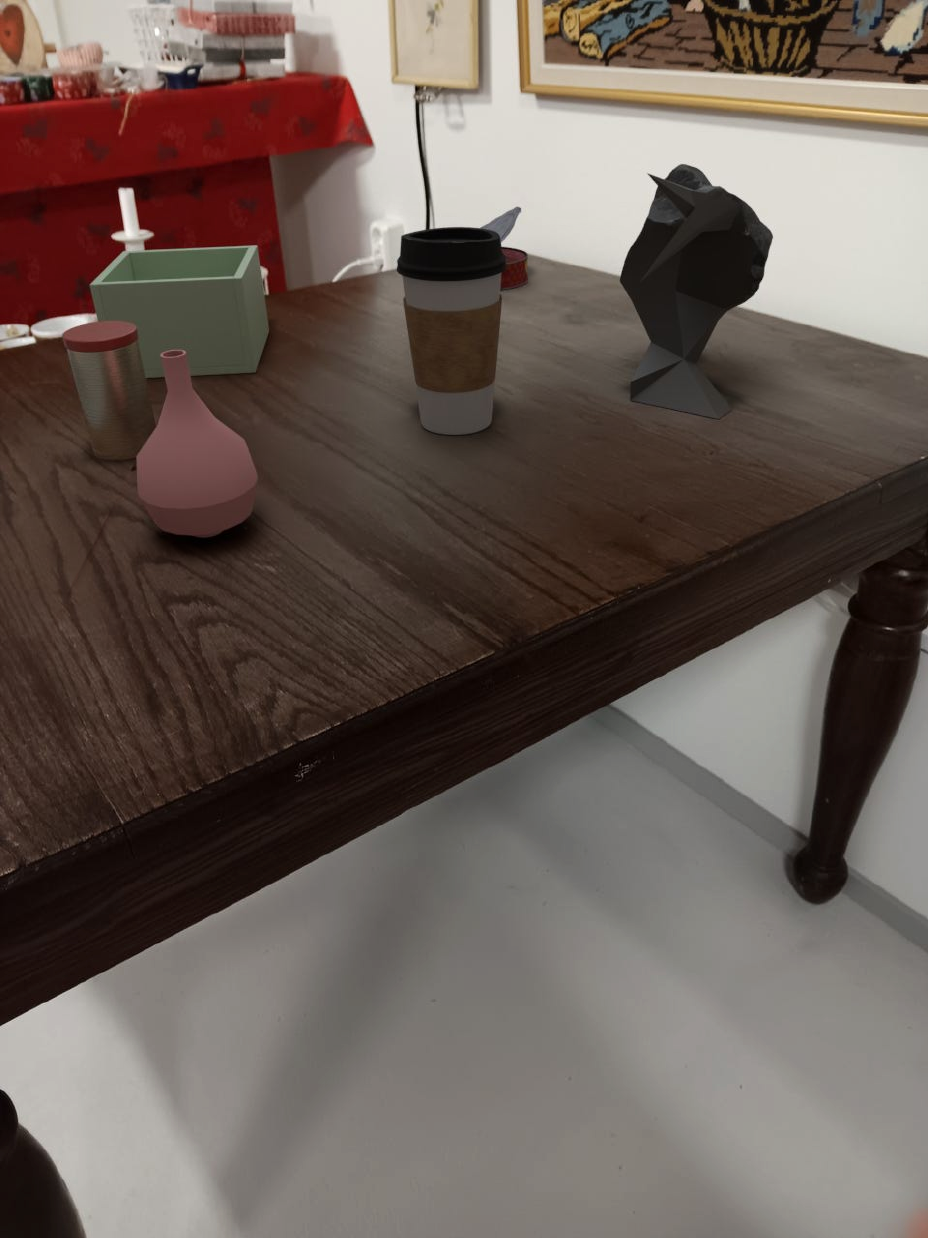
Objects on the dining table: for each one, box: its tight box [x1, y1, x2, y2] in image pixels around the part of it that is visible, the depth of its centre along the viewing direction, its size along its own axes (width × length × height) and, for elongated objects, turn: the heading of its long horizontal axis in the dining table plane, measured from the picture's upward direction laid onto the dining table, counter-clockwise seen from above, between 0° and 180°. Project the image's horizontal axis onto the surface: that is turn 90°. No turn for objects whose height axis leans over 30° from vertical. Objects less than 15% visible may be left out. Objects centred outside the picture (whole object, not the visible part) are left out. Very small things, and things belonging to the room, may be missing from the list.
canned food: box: [480, 206, 529, 291], centre depth 117 cm, size 11×10×10 cm
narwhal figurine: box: [619, 163, 774, 420], centre depth 82 cm, size 14×15×18 cm
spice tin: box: [61, 321, 157, 471], centre depth 72 cm, size 5×5×10 cm
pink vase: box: [135, 350, 259, 538], centre depth 61 cm, size 8×8×12 cm
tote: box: [89, 244, 270, 379], centre depth 94 cm, size 14×14×9 cm
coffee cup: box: [396, 226, 507, 436], centre depth 76 cm, size 8×8×15 cm
